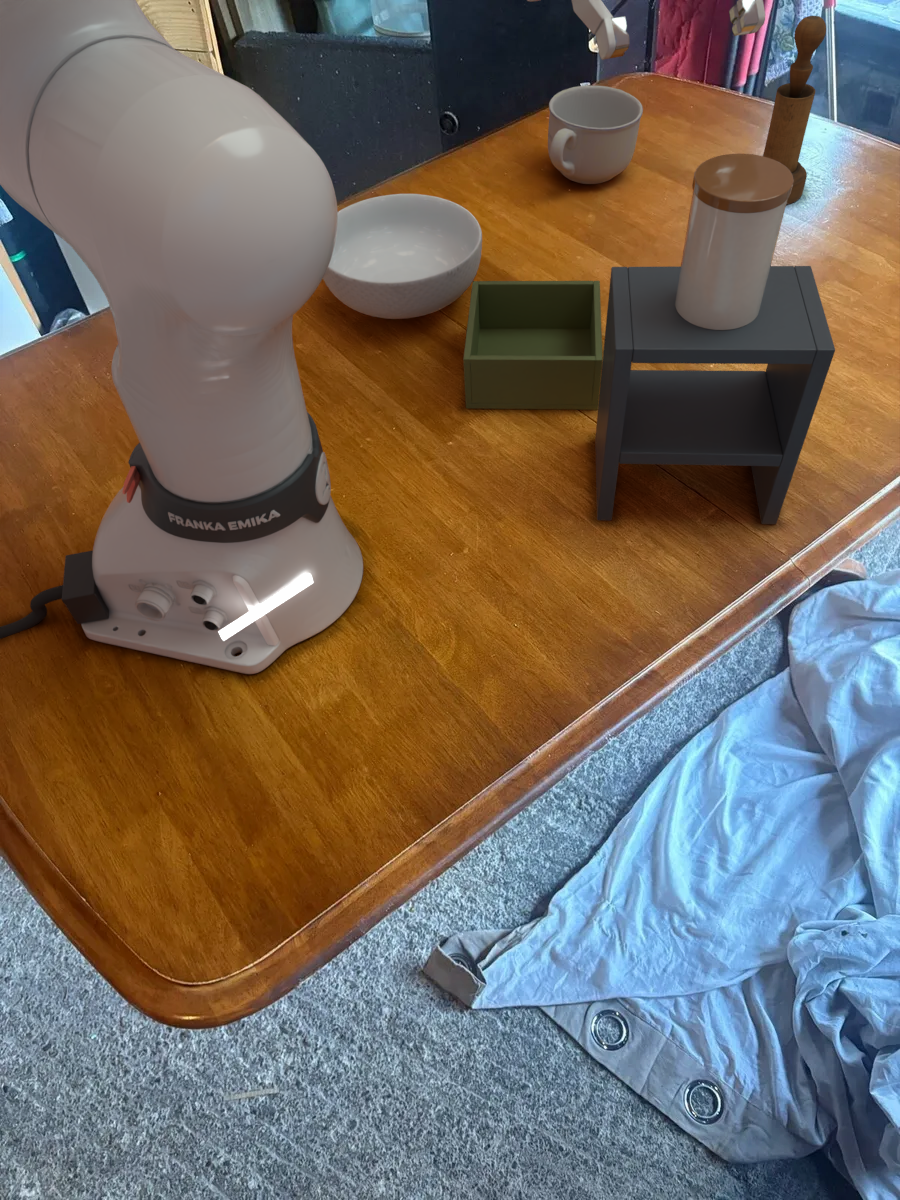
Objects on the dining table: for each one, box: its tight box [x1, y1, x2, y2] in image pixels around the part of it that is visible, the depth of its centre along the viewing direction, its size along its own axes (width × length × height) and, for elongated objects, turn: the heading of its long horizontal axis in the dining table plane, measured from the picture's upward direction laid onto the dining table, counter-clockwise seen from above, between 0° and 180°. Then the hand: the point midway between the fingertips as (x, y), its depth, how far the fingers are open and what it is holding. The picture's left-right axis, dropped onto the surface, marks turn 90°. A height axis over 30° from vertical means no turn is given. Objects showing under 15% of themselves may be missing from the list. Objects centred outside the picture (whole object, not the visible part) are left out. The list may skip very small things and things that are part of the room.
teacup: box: [547, 84, 644, 185], centre depth 105 cm, size 14×11×8 cm
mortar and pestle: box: [762, 15, 827, 205], centre depth 97 cm, size 7×6×18 cm
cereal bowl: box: [322, 193, 483, 320], centre depth 92 cm, size 17×17×7 cm
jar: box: [675, 153, 793, 330], centre depth 59 cm, size 6×6×9 cm
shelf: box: [594, 265, 836, 525], centre depth 69 cm, size 14×10×17 cm
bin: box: [462, 280, 603, 411], centre depth 84 cm, size 12×12×6 cm
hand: (683, 42), depth 58 cm, fingers open, 8 cm apart
